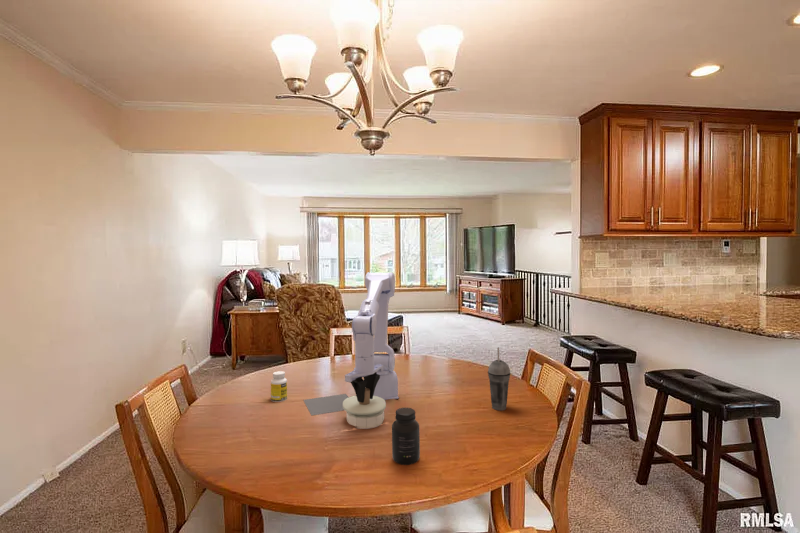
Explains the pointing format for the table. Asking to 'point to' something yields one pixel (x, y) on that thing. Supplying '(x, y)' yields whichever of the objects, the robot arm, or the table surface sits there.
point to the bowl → (365, 420)
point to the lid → (364, 404)
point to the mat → (325, 404)
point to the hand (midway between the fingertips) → (365, 399)
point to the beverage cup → (499, 383)
